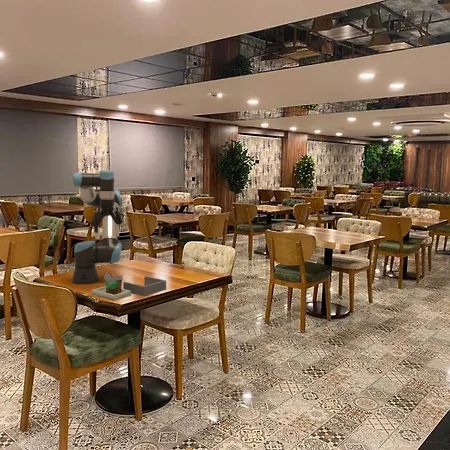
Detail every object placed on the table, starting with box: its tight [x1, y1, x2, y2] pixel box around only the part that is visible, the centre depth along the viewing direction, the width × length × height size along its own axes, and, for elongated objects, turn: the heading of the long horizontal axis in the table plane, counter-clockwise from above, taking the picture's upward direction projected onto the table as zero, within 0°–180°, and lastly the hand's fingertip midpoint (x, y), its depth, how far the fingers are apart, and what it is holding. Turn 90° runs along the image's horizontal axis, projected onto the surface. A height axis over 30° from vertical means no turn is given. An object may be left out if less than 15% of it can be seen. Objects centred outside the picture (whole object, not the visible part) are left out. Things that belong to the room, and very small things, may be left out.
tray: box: [91, 285, 132, 301], centre depth 231 cm, size 17×11×2 cm, turn 56°
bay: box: [122, 275, 167, 297], centre depth 242 cm, size 16×17×5 cm
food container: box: [103, 271, 124, 295], centre depth 231 cm, size 12×6×10 cm, turn 51°
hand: (107, 237), depth 241 cm, fingers open, 13 cm apart
